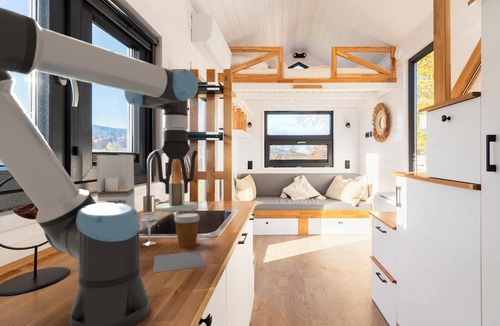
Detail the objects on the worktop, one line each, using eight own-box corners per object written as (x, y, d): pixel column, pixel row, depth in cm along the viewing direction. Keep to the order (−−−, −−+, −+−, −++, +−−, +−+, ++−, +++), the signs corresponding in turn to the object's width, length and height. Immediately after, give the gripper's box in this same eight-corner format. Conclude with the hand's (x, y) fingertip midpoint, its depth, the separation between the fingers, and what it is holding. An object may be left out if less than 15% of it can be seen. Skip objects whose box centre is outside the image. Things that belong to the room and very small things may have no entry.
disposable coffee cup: (194, 251, 102) (193, 218, 102) (169, 250, 104) (169, 217, 104) (203, 243, 112) (203, 212, 111) (181, 242, 114) (180, 212, 113)
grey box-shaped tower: (108, 240, 118) (105, 155, 117) (135, 238, 120) (133, 155, 119) (99, 248, 107) (96, 155, 106) (129, 246, 109) (127, 154, 108)
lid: (154, 212, 83) (154, 185, 83) (156, 205, 95) (155, 182, 95) (199, 210, 87) (199, 183, 86) (195, 203, 99) (195, 180, 99)
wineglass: (143, 241, 115) (142, 211, 115) (160, 241, 116) (159, 211, 115) (137, 246, 109) (136, 215, 108) (155, 246, 109) (155, 214, 109)
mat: (152, 274, 82) (152, 272, 82) (154, 257, 97) (154, 255, 97) (205, 268, 86) (205, 266, 86) (199, 252, 101) (199, 251, 101)
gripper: (200, 131, 96) (201, 201, 97) (149, 130, 92) (150, 203, 92) (203, 129, 89) (203, 204, 90) (148, 128, 85) (149, 207, 85)
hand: (176, 203), depth 91 cm, fingers closed on lid, 3 cm apart
